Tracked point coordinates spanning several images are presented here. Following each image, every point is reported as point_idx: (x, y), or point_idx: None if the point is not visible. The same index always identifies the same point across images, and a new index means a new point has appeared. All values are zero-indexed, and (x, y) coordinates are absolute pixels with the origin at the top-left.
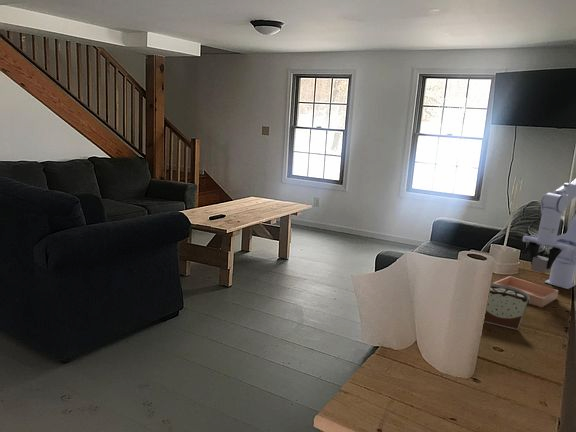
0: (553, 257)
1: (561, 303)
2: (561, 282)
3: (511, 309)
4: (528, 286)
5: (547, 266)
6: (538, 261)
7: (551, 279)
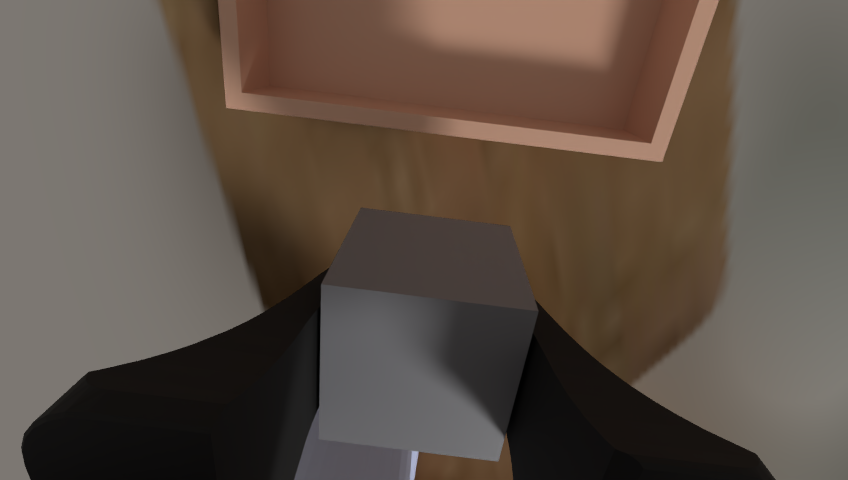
0: (208, 339)
1: (194, 7)
2: None
3: None
4: (474, 114)
5: None
6: (445, 274)
7: None
